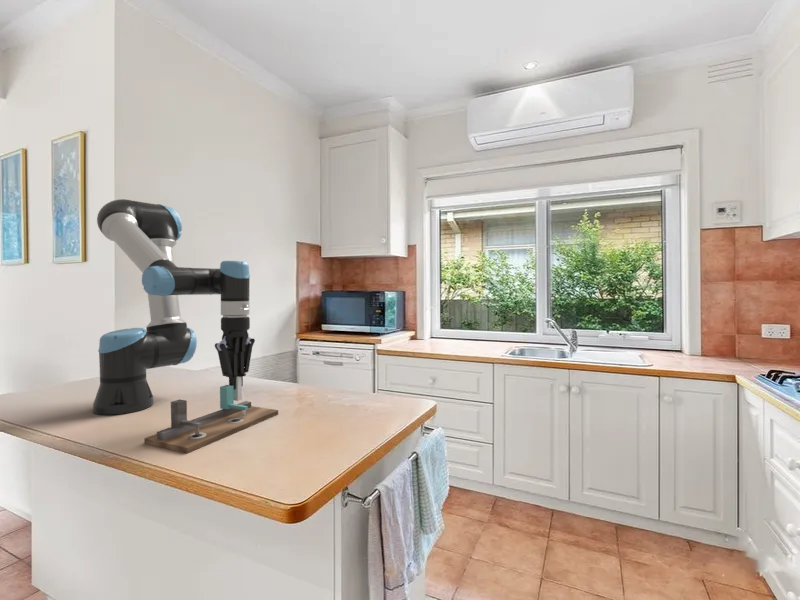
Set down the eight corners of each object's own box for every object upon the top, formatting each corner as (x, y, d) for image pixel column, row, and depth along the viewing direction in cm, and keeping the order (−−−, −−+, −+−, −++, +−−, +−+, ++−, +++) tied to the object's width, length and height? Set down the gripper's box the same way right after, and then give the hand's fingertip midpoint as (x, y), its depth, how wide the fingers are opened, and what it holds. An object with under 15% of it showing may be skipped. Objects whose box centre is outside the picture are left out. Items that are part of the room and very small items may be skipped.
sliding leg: (220, 413, 114) (220, 386, 113) (227, 411, 116) (226, 384, 115) (243, 417, 110) (243, 389, 110) (250, 415, 112) (249, 387, 112)
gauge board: (144, 443, 97) (143, 405, 96) (240, 408, 124) (240, 379, 124) (187, 453, 91) (187, 413, 91) (278, 414, 119) (278, 383, 118)
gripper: (227, 318, 109) (228, 407, 110) (262, 315, 121) (262, 395, 122) (206, 317, 112) (207, 404, 113) (242, 314, 124) (242, 392, 125)
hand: (236, 399), depth 117 cm, fingers closed
